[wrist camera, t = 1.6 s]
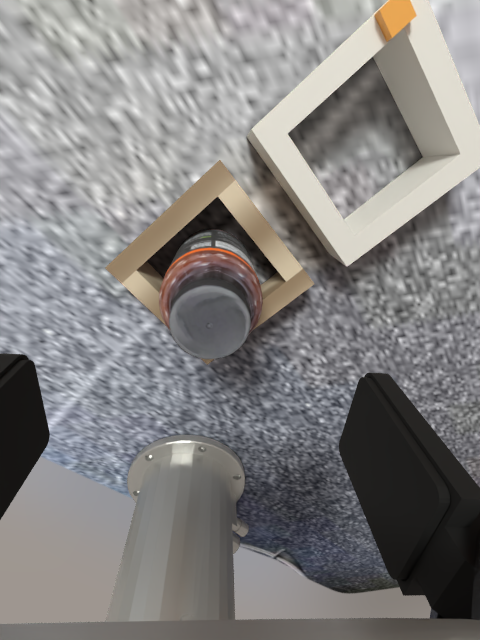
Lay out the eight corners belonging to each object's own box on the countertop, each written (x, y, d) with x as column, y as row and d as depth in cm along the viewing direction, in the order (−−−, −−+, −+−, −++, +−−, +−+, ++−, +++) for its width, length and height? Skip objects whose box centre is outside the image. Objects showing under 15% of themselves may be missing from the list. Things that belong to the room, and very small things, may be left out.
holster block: (304, 272, 26) (314, 283, 23) (208, 346, 29) (207, 364, 26) (220, 161, 22) (220, 159, 20) (117, 257, 25) (105, 267, 22)
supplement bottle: (211, 313, 27) (205, 397, 17) (160, 262, 25) (118, 322, 15) (265, 268, 26) (294, 330, 16) (216, 210, 24) (211, 237, 14)
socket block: (450, 160, 23) (500, 157, 19) (329, 253, 26) (350, 269, 21) (380, 10, 19) (424, -35, 15) (246, 136, 22) (252, 128, 18)
